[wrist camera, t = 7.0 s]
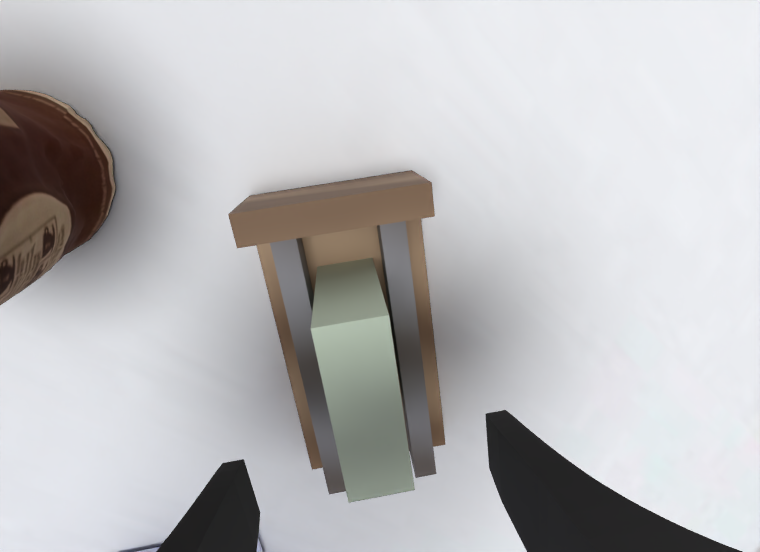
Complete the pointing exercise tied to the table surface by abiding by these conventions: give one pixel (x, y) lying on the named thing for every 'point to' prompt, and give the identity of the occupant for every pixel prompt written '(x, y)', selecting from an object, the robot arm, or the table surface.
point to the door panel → (361, 379)
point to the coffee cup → (47, 186)
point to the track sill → (397, 280)
